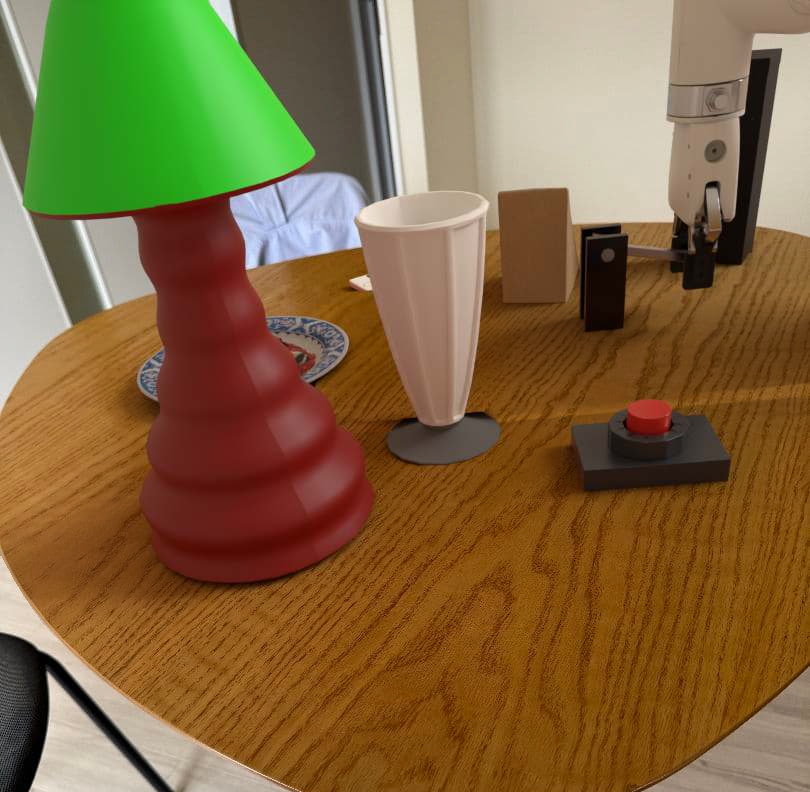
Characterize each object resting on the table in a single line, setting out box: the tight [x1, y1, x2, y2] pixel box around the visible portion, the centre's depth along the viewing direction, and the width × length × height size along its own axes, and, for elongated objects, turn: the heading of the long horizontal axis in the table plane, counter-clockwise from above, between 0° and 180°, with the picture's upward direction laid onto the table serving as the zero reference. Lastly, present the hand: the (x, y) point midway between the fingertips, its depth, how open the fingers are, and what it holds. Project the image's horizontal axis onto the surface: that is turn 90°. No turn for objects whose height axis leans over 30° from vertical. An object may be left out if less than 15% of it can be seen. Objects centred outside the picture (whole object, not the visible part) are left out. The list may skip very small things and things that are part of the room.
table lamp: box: [22, 0, 375, 584], centre depth 56 cm, size 20×20×45 cm
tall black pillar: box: [696, 33, 783, 266], centre depth 99 cm, size 8×8×28 cm
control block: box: [570, 407, 732, 493], centre depth 68 cm, size 12×8×4 cm, turn 88°
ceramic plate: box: [136, 315, 350, 403], centre depth 95 cm, size 26×26×3 cm
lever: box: [591, 233, 688, 262], centre depth 88 cm, size 12×5×2 cm, turn 88°
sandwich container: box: [497, 187, 580, 304], centre depth 102 cm, size 9×15×15 cm, turn 163°
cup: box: [353, 190, 502, 466], centre depth 71 cm, size 12×12×22 cm
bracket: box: [578, 222, 629, 333], centre depth 90 cm, size 12×8×12 cm, turn 88°
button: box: [626, 398, 672, 436], centre depth 67 cm, size 4×4×2 cm
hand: (690, 277), depth 89 cm, fingers closed on lever, 5 cm apart
